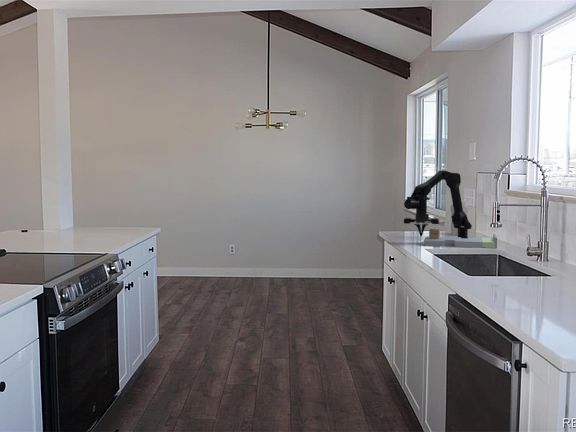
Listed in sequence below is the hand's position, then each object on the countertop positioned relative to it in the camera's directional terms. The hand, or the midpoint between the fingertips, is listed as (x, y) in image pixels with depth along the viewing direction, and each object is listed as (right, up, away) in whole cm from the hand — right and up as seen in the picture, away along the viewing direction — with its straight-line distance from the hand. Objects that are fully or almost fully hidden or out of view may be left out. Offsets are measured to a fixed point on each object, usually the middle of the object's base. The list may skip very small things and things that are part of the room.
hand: (421, 236), depth 302 cm
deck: (+19, -4, -6) cm, 20 cm away
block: (+7, -1, -2) cm, 7 cm away
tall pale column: (+32, -1, +34) cm, 47 cm away
